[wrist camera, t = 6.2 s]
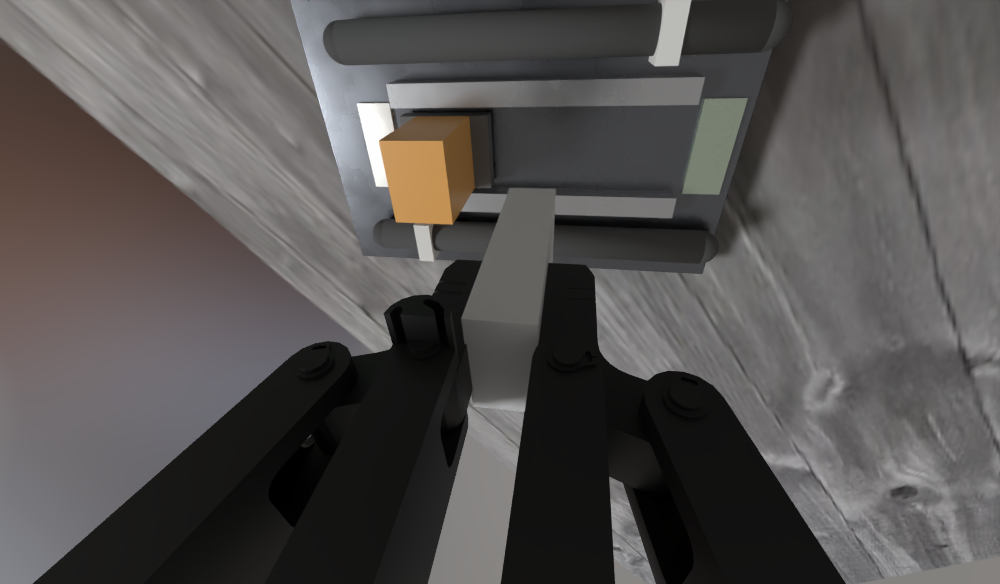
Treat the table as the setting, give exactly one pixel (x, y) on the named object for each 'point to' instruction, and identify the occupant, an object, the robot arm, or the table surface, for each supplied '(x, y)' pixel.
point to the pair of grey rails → (562, 35)
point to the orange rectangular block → (437, 164)
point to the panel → (546, 126)
